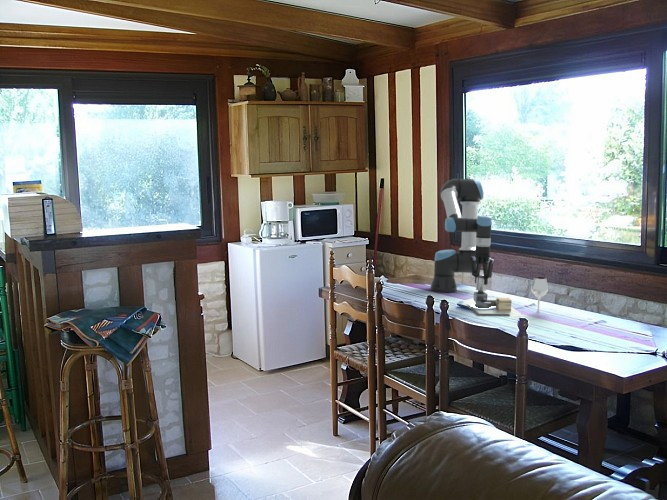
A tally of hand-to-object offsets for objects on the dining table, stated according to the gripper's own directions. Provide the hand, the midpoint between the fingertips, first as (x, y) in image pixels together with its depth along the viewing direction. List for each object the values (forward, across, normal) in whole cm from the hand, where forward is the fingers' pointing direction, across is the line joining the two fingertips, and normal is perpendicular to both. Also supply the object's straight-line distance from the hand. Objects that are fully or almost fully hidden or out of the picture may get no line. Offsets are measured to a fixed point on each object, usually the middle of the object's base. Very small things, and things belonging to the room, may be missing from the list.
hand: (480, 290), depth 364 cm
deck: (+8, +11, -4) cm, 14 cm away
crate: (+8, +15, -2) cm, 17 cm away
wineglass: (+9, +29, +8) cm, 31 cm away
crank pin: (+2, 0, 0) cm, 2 cm away
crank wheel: (+8, +6, +1) cm, 10 cm away
